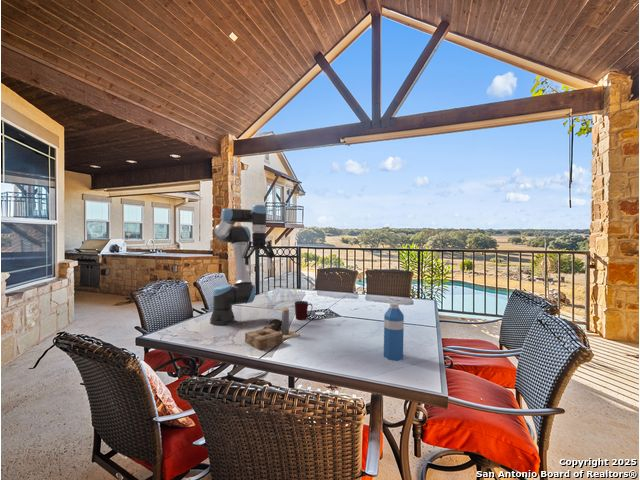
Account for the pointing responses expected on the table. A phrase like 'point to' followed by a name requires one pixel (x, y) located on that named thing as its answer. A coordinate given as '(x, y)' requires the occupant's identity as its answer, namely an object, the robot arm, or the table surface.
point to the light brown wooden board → (290, 335)
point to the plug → (285, 321)
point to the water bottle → (393, 333)
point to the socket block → (263, 338)
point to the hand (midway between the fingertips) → (258, 270)
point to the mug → (301, 310)
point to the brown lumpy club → (274, 324)
